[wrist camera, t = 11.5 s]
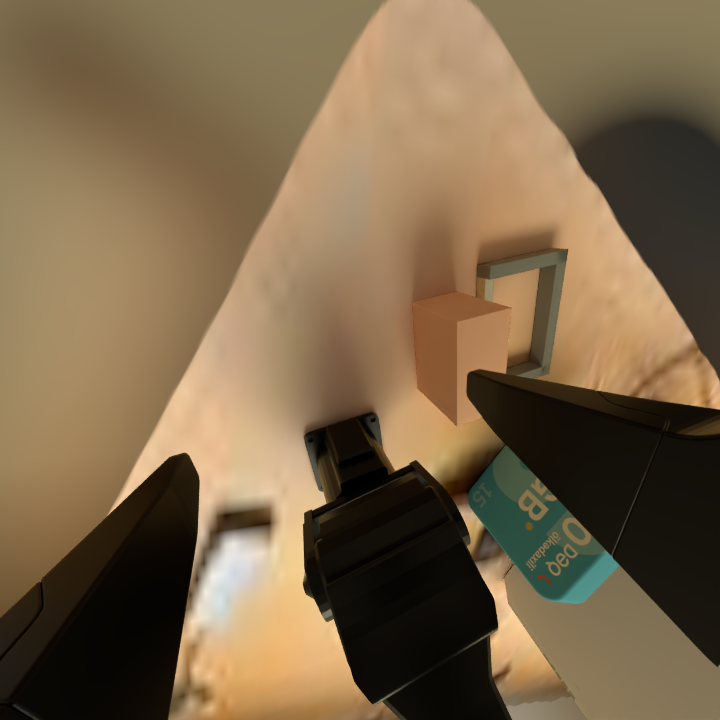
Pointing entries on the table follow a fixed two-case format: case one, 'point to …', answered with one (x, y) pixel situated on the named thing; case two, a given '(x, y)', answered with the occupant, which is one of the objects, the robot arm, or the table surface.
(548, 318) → the grey rectangular frame
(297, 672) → the table surface
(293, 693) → the table surface
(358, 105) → the table surface
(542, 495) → the data package
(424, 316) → the tall beige box
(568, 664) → the game console
